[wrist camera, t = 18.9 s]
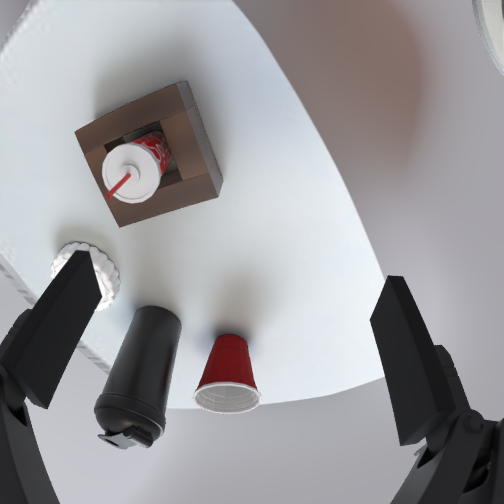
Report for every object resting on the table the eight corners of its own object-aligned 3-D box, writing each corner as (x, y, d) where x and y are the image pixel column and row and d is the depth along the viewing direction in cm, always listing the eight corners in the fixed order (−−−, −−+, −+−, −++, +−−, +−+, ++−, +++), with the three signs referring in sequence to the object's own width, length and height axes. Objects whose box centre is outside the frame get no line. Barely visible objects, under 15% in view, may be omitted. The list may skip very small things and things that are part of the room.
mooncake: (129, 264, 45) (121, 279, 42) (111, 310, 51) (104, 324, 48) (64, 228, 42) (53, 241, 39) (54, 278, 47) (45, 291, 44)
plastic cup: (242, 368, 58) (239, 422, 48) (192, 348, 55) (181, 404, 45) (274, 339, 53) (276, 398, 43) (219, 315, 50) (210, 376, 40)
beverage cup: (188, 163, 36) (153, 217, 24) (145, 179, 37) (97, 236, 26) (170, 117, 33) (121, 149, 21) (126, 136, 34) (66, 177, 22)
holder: (94, 122, 33) (73, 132, 29) (187, 80, 30) (175, 83, 26) (133, 209, 40) (119, 227, 36) (223, 180, 37) (218, 197, 33)
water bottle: (119, 313, 51) (74, 427, 32) (159, 293, 48) (116, 424, 29) (156, 347, 56) (127, 457, 37) (198, 332, 53) (175, 456, 33)
